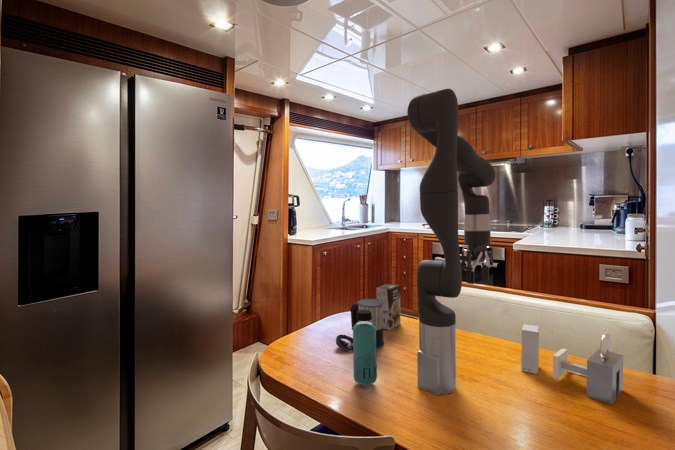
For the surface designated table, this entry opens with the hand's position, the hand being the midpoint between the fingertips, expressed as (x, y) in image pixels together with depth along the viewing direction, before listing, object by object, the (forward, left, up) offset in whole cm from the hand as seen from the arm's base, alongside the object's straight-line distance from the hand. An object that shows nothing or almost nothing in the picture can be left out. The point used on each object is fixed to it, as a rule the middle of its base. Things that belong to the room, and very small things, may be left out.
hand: (478, 281), depth 106 cm
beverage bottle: (-38, +11, -24) cm, 46 cm away
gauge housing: (+6, -26, -24) cm, 36 cm away
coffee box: (+1, +38, -24) cm, 45 cm away
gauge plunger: (+6, -26, -23) cm, 36 cm away
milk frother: (-21, +31, -24) cm, 45 cm away
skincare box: (+4, -14, -24) cm, 28 cm away
